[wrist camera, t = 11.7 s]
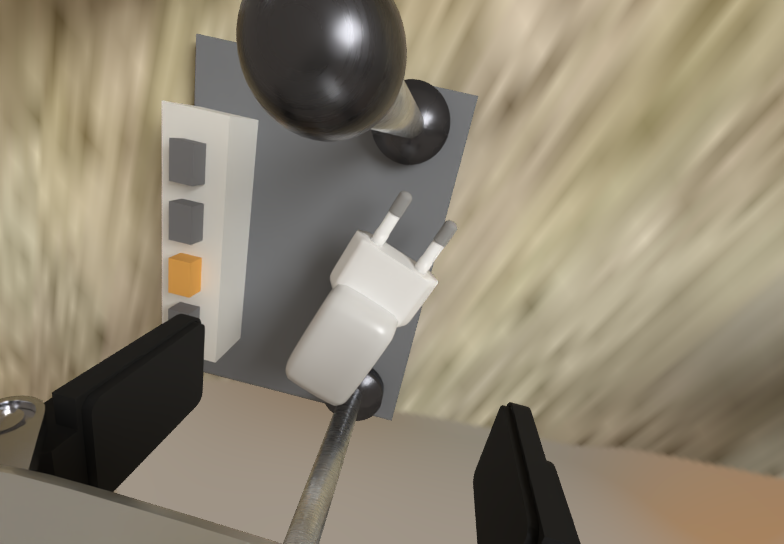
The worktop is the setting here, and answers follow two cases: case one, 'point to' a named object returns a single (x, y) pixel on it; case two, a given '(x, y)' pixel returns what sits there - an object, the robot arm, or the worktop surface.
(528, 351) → the worktop surface
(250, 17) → the cord post
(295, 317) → the mat
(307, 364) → the power adapter
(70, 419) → the robot arm
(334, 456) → the cord post
